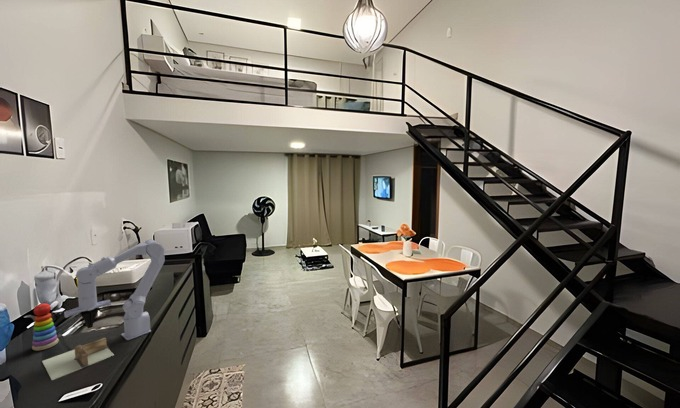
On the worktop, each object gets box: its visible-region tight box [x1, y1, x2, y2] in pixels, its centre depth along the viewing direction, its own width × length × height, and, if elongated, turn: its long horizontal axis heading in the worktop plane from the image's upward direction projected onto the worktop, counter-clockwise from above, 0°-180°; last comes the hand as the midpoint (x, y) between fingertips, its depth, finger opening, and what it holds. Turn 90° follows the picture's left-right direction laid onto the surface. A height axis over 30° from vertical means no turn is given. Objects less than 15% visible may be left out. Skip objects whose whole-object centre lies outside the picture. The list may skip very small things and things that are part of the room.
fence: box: [74, 337, 108, 359], centre depth 115 cm, size 10×2×5 cm, turn 144°
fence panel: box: [77, 348, 88, 365], centre depth 109 cm, size 8×1×4 cm, turn 57°
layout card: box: [41, 345, 115, 381], centre depth 112 cm, size 18×18×1 cm
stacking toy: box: [31, 302, 60, 352], centre depth 120 cm, size 8×8×19 cm
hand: (89, 327), depth 119 cm, fingers closed
